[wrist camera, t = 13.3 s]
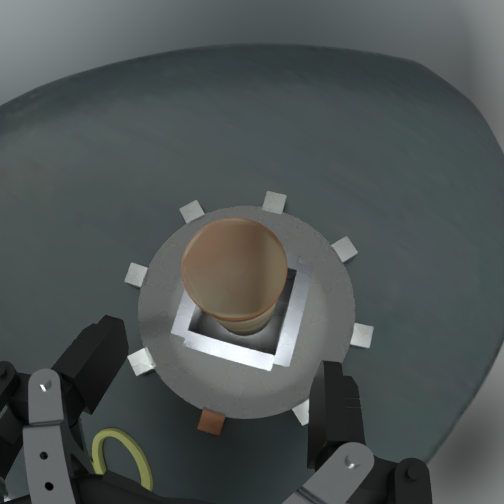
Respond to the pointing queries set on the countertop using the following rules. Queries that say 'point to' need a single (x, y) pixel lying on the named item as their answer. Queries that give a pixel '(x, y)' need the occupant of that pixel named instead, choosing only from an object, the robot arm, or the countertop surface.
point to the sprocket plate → (254, 346)
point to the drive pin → (235, 273)
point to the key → (132, 447)
